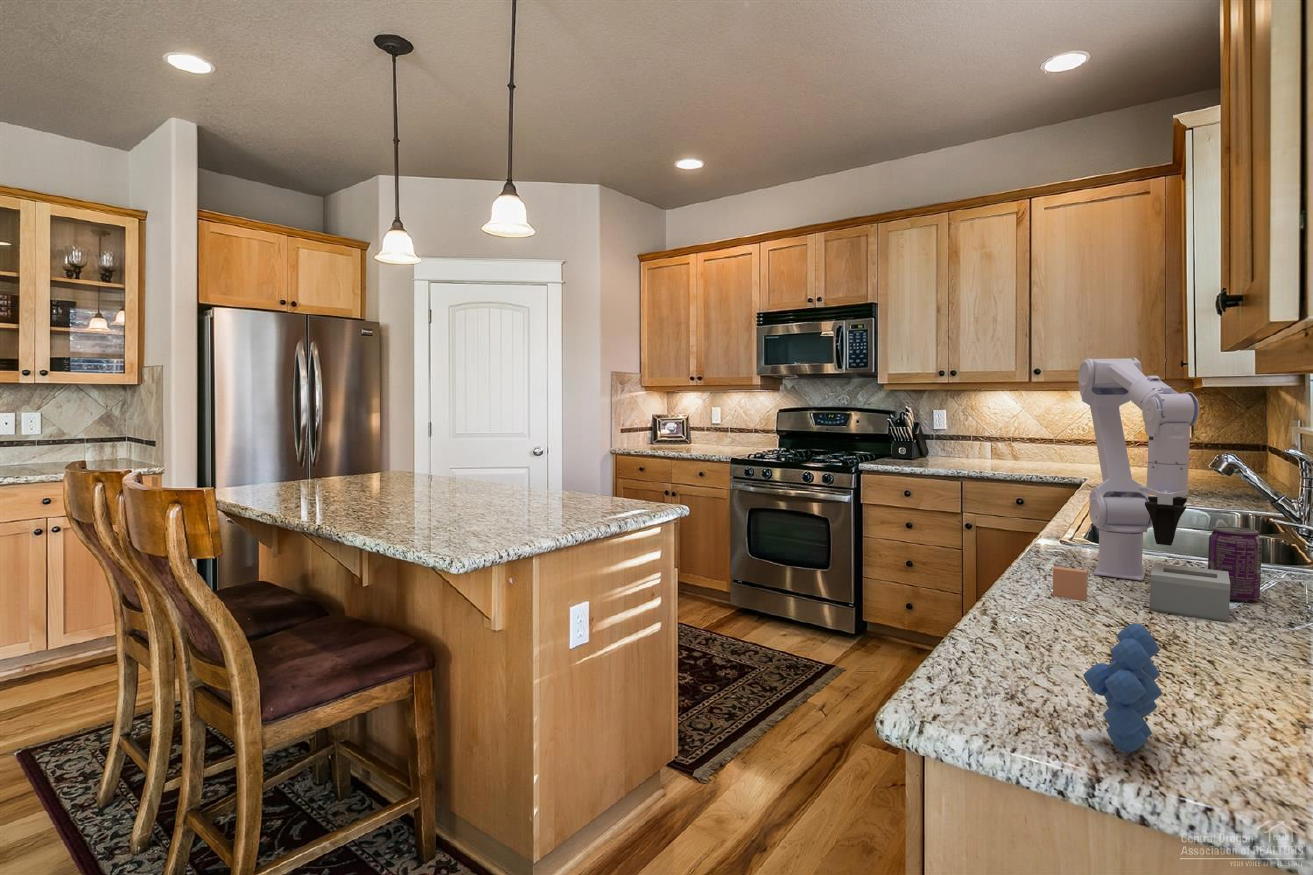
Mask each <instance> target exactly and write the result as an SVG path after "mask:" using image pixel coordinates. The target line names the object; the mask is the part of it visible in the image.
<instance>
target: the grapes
mask: <svg viewBox="0 0 1313 875" xmlns="http://www.w3.org/2000/svg"><path fill="white" fill-rule="evenodd" d="M1115 636H1116V638H1117V639H1118V643H1117V644H1115V645H1114V646H1113V647H1112V648H1111V649H1110V650H1109V652H1110V655H1111V656H1112V657H1111V658H1110V659H1109V660H1110V661H1111V662H1110V663H1109V664H1106V663H1105V662H1099V663H1096V664H1094V665H1092V666H1091V667H1090V668H1089V669H1087V670H1086V671H1085V672H1084V673H1083V674H1082V675H1083V678H1084V680H1085V682H1086V683H1087V685H1088V687H1089V688H1090V690H1092V692H1093V693H1094V694H1097V695H1098V696H1101V697H1104V699H1105V701H1106V702H1105V705H1106V706H1107V707H1108V708H1107V709H1106V710H1105V711H1104V712H1103V713H1102V715H1103V716H1104V717H1103V718H1104V719H1105V721H1106V723H1107V724H1108V727H1107V728H1106V729H1105V730H1106V733H1107V735H1108V736H1109V738H1110V740H1111V741H1112V744H1114V746H1115V747H1116V749H1117V750H1119V751H1120V752H1122V753H1125V754H1130V753H1134V752H1136V751H1138V750H1139V749H1140V748H1141V747H1142V746H1143V745H1144V744H1146V743H1147V742H1148V740H1147V739H1148V738H1149V737H1151V736H1152V734H1153V732H1152V730H1151V729H1150V726H1149V725H1148V723H1147V722H1146V720H1145V719H1144V718H1146V717H1148V716H1149V715H1150V714H1151V713H1152V712H1154V711H1155V710H1156V709H1157V708H1158V706H1157V704H1156V702H1155V701H1156V700H1157V699H1159V697H1160V696H1162V695H1163V692H1162V690H1161V688H1160V687H1159V685H1158V684H1157V683H1156V680H1157V679H1158V678H1159V677H1160V676H1161V673H1160V672H1159V670H1158V668H1157V666H1156V665H1155V663H1153V661H1152V658H1153V657H1154V656H1156V655H1157V654H1158V653H1159V652H1160V651H1161V649H1160V647H1159V645H1158V644H1157V642H1156V640H1155V639H1154V637H1153V636H1152V634H1151V633H1150V631H1149V630H1148V629H1147V627H1146V626H1144V625H1142V624H1141V623H1138V622H1134V623H1130V624H1128V625H1127V626H1126V627H1124V628H1123V629H1122V630H1121V631H1119V632H1118V633H1117V634H1116V635H1115Z"/></svg>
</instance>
